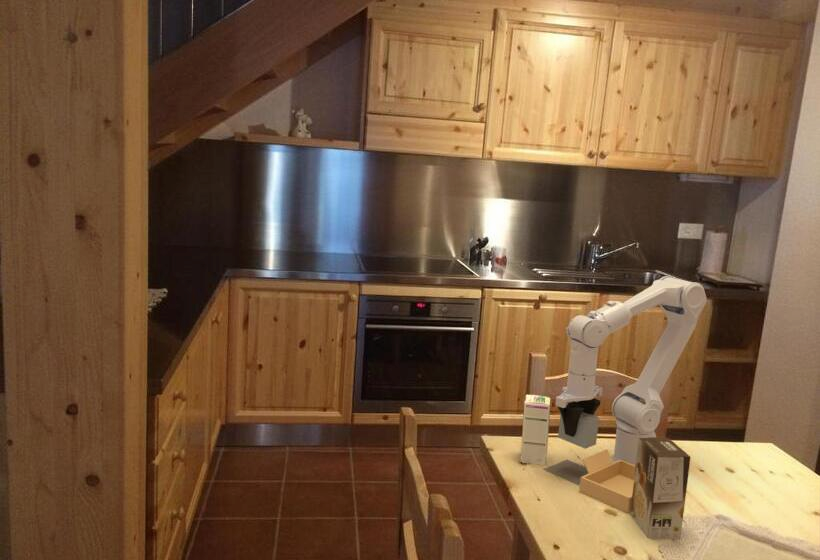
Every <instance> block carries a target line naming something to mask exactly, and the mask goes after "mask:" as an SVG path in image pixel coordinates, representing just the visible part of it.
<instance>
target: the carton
mask: <svg viewBox="0 0 820 560" xmlns="http://www.w3.org/2000/svg"><path fill="white" fill-rule="evenodd" d="M611 459H612V457H611V456H610V453H609V451H608V449H604V450H602V451H600V452H597V453H595V454H593V455H590V456H588V457H584V458H583V459H582V461H583V463H584V467H586V469H587V471H588V473H589V474H587V475H585V476H582V477H581V479H580V484H579V488H578V489H579V490H578V491H579V493H581V494H584V495H586V496H587V497H590V498H593V499H595V500H597V501H599V502H601V503H604V504H605V505H608V506H611V507H612V508H615V509H617V510H618V511H619V510H620V511H622V512H623V513H626V514H630V512H631V503H632V493H633V484H634V475H635V465H633V464H630V463H627V462H625V461H622V460H618V461H616V462H612V460H611Z"/></svg>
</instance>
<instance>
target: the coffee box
mask: <svg viewBox="0 0 820 560" xmlns="http://www.w3.org/2000/svg"><path fill="white" fill-rule="evenodd" d="M691 457H692V456H690V455H689V454H688V453H687V452H685V451H684V450H683V449H682V448H681V447H679V445H677V444H676V443H675V442H674V441H673V440H672V439H671V438H669V437H658V436H656V437H649V438H638V447H637V456H636V465H635V475H634V484H633V493H632V503H631V512H629V514H630V517H631V518H632V519H633V522H635V523H636V525H637V526H638V527H639V528H640V530H641V531H642V532H643V534H644V535H645V536H646V537H647V538H648V539H650V540H680V539H681V537H682V528H683V522H684V521H683V519H684V512H685V505H686V496H687V489H688V480H689V479H688V478H689V472H690V465H691V464H690V463H691Z"/></svg>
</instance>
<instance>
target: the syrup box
mask: <svg viewBox="0 0 820 560" xmlns="http://www.w3.org/2000/svg"><path fill="white" fill-rule="evenodd" d="M523 403H524V405H523V417H522V418H523V421H522V432H521V435H522V436H521V447H520V463H521V462H522V463H521V464H524V463H528V464H527V465H531V464H534V465H542V466H546V465H547V456H548V446H549V445H548V442H549V433H550V432H549V431H550V415H551V414H550V411H551V397H549V396H546V395H540V394H526V395H525V398H524V402H523Z"/></svg>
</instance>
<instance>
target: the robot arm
mask: <svg viewBox="0 0 820 560" xmlns="http://www.w3.org/2000/svg"><path fill="white" fill-rule="evenodd" d="M707 302H708V299H707V295H706V292H705V288H704V286H703V285H702V284H701V283H700V282H693V281H689V280H688V281H687V280H683V279H679V278H676V277H672V276H668V275H667V276H666V275H665V276H662V277H661V278H659V279H656V280H653V282H652V284H651V285H650V286H649V287H647V288H645V289H644V290H643V291H641V292H638V293H637V294H636V295H634V296H632V297H631V298H628V299H627V300H625V301H623V302H621V301H619V300H609V301H607V302H606V305H603V306H602V307H600V308H598V309H596V310H591V311H589V312H588V314H587V315H581V314H579V315H576V316H575V317H574V318H573V317H572V319H571V320H570V322H569V324H568V326H566V328H565V329H566V331H565V332H566V335H567V337H568V338H569V339H568V340H569V347H570V348H569V349H570V350H569V362H568V371H567V381H566V386H564V387H562V393H561V394H560V395H558V396H556V397H555V406H556V407H557V408H558V410H559V412H560V415H562V419H563V424H564V430H565V434H566V435H569V436H572V437H574V436H575V434H576V431H577V426H578V421H579V418H580V416H581V413H582V412H584V413H587V414H591V415H594V416H595V413H596V411H597V410H598V408H599V407H600V406H601V402H602V401H601V400H599V399H596V397H602V396H603V387H602V386H598V385H596V377H597V376H596V375H597V364H598V356H599V346H601V345H603V344H604V342H605V340H606V338H607V337H608V336H610V335H611V334H612V333H615V332H616V331H618V330H621V329H622V328H624V327H626V326H628V325H629V324H630V322H631V318H632V317H634V316H637V315H638V314H641V313H643V312H645V311H648V310H651V309H653V308H655V307H657V306H660V308H661V309H662V311H663V312H664V315H666V318H667V325H666V326H665V329H664V330H663V332H662V334H661V336H660V338H659V339H658V341H657V343H656V344H655V347H654V349H653V351H652V353H651V355H650V356H649V358H648V360H647V362H646V363H645V366H644V368H643V369H642V371H641V373H640V375H639V376H638V378H637V380H636V381H635V382H634V383H632V384H629V385H627V386H625V387H624V389H623V390H622V392H621V393H620V394H619V395H618V396H616V397H615V398H614V400H613V402H612V404H611V414H612V416H613V417H614V418H615V424H616V432H615V433H616V434H615V444H614V449H613V450H614V452H613V457H611V460H612V462H616V461H618V460H622V461H625V462H627V463H630V464H633V465H636V456H637V447H638V438H649V437H657V435H656V432H655V430H656V429H657V427H658V426H659V424H660V420H661V415H662V412H663V410H664V408H665V407H664V403H663V400H662V398H661V396H660V394H661V392H662V391H663V388H664V387H665V385H666V383H667V380H668V379H669V378H670V375H671V373H672V371H673V369H674V368H675V366H676V364H677V362H678V361H679V358H680V356H681V355H682V353H683V351H684V350H685V347H686V346H687V344H688V342H689V340H690V338H691V336H692V335H693V332H694V331H695V329H696V326H697V323H698V320H699V316H700V314H702V311H703V310H704V307H705V305H706V303H707Z"/></svg>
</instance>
